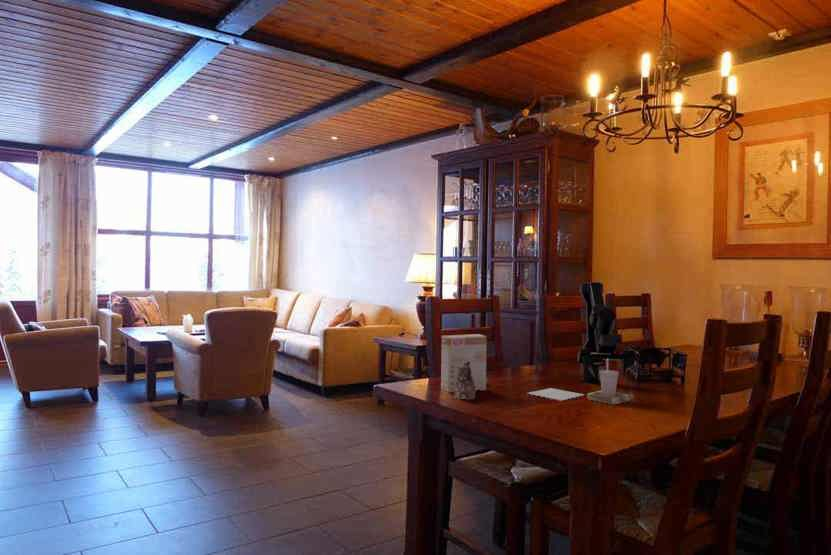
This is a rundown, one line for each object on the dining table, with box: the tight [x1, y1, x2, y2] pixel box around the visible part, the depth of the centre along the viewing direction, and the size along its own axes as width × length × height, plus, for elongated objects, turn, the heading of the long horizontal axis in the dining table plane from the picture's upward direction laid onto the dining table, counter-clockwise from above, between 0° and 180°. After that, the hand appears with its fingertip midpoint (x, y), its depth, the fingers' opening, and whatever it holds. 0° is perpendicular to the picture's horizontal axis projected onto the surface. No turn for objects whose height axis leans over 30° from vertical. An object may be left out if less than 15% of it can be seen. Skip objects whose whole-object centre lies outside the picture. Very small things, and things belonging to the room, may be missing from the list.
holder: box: [586, 389, 631, 406], centre depth 198 cm, size 10×10×2 cm
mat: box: [526, 387, 586, 402], centre depth 205 cm, size 14×14×1 cm
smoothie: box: [599, 358, 620, 398], centre depth 198 cm, size 6×6×14 cm
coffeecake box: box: [440, 333, 487, 393], centre depth 211 cm, size 15×7×20 cm, turn 110°
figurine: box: [453, 361, 476, 401], centre depth 199 cm, size 7×7×12 cm
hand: (609, 377), depth 197 cm, fingers open, 9 cm apart
